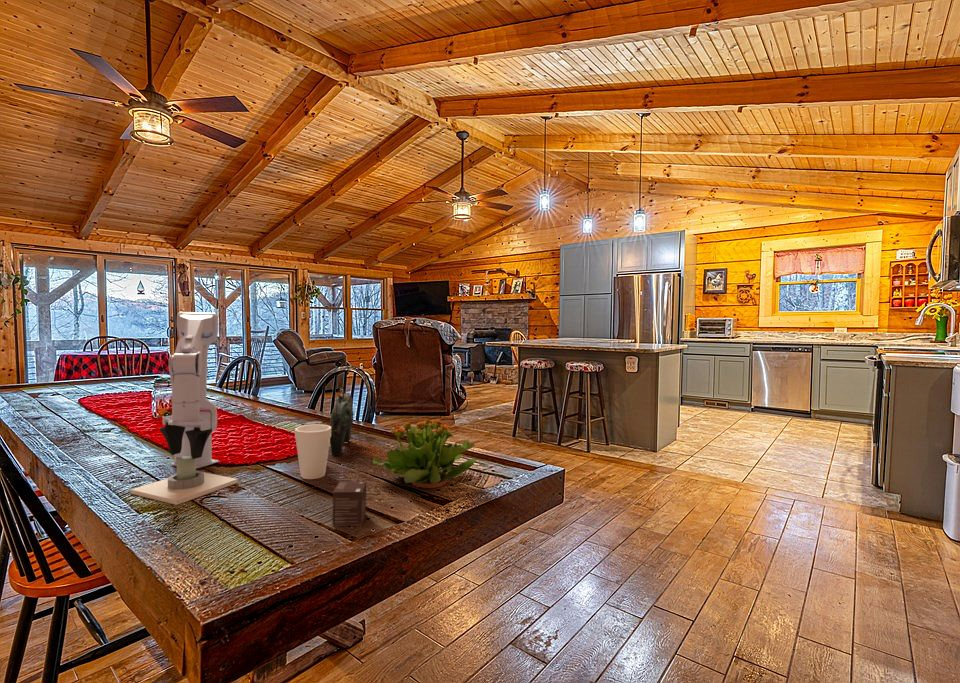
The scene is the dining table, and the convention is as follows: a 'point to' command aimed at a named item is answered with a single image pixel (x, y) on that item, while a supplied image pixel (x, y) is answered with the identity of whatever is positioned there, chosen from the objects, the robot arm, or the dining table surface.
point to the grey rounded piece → (186, 468)
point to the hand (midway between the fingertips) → (186, 455)
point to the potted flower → (426, 455)
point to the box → (349, 503)
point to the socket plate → (183, 494)
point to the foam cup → (312, 449)
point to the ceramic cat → (341, 422)
